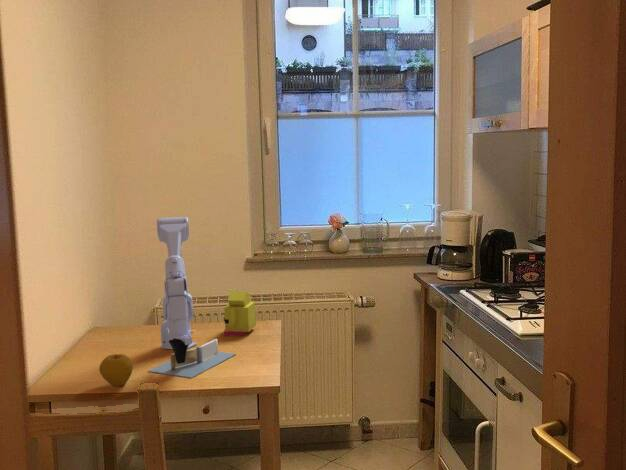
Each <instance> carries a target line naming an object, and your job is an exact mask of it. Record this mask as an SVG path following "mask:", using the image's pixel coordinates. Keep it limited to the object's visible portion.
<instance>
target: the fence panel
mask: <svg viewBox="0 0 626 470" xmlns="http://www.w3.org/2000/svg"><path fill="white" fill-rule="evenodd" d="M170 360H171V369H172V370H174V369H175V367H178V366H182V365H186V364H190V363H193V362H197V349H196V347H193V348H191V349H190V348H188V349H187V351H186V358H185V363H180V364H178V363H177V361H176V357H175V354H174V352H173V353H170Z"/></svg>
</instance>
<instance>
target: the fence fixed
mask: <svg viewBox="0 0 626 470" xmlns="http://www.w3.org/2000/svg"><path fill="white" fill-rule="evenodd" d="M195 348H196V349H197V363H202V360H203V359H205V358H207V357H209V356H211V355H213V354H218V352H219V344H218V339H217V338H214V339H212V340H211V341H208V342H206V343H204V344H202V345H200V346H196V347H195Z"/></svg>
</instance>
